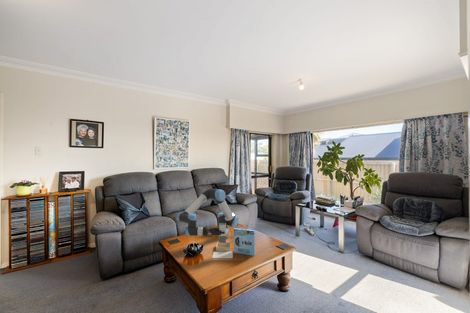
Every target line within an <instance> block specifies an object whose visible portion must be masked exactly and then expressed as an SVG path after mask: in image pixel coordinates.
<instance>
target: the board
mask: <svg viewBox="0 0 470 313" xmlns="http://www.w3.org/2000/svg"><path fill="white" fill-rule="evenodd" d="M233 254H234V250H233V251H231V250H230V251H213V252H212V257H211V258H212V259H233V257H234V255H233Z"/></svg>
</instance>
